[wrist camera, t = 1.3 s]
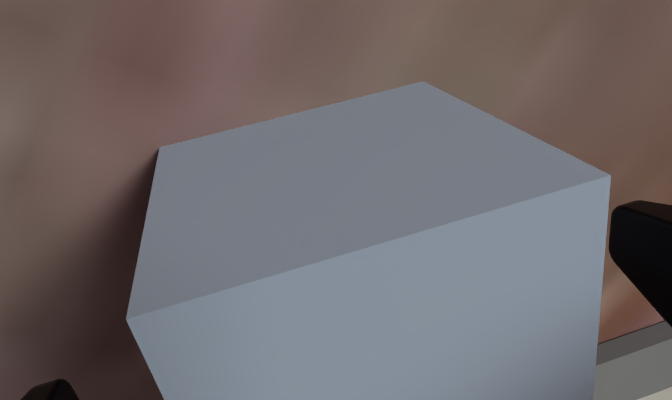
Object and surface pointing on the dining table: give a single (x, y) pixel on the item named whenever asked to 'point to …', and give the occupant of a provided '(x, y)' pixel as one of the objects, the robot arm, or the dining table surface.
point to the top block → (372, 258)
